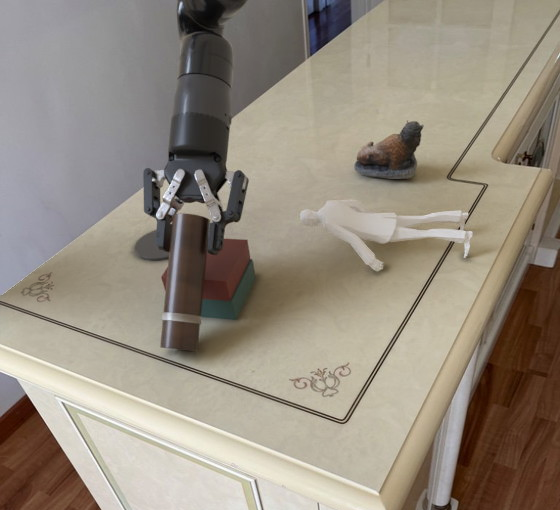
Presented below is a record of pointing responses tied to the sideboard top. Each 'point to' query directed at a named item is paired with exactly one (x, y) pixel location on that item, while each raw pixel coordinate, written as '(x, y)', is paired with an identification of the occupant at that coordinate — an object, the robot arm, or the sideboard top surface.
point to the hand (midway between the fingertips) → (188, 252)
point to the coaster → (150, 248)
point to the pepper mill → (185, 282)
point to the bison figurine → (391, 154)
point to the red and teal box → (226, 280)
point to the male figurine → (381, 226)
